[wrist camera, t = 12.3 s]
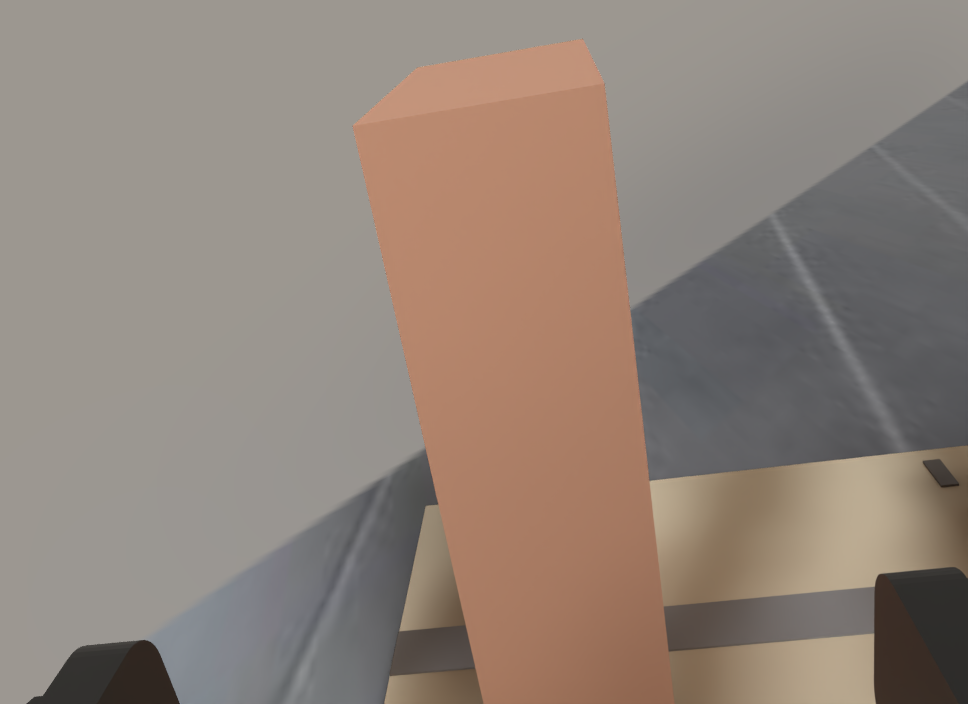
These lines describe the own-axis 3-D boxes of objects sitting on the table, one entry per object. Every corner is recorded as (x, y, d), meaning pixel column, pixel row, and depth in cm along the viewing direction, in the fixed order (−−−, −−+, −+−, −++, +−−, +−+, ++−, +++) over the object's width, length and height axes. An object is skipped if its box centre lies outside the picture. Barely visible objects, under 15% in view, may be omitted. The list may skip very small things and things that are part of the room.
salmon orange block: (641, 528, 26) (582, 38, 21) (679, 748, 19) (604, 83, 14) (509, 542, 27) (417, 67, 21) (496, 761, 20) (353, 126, 14)
